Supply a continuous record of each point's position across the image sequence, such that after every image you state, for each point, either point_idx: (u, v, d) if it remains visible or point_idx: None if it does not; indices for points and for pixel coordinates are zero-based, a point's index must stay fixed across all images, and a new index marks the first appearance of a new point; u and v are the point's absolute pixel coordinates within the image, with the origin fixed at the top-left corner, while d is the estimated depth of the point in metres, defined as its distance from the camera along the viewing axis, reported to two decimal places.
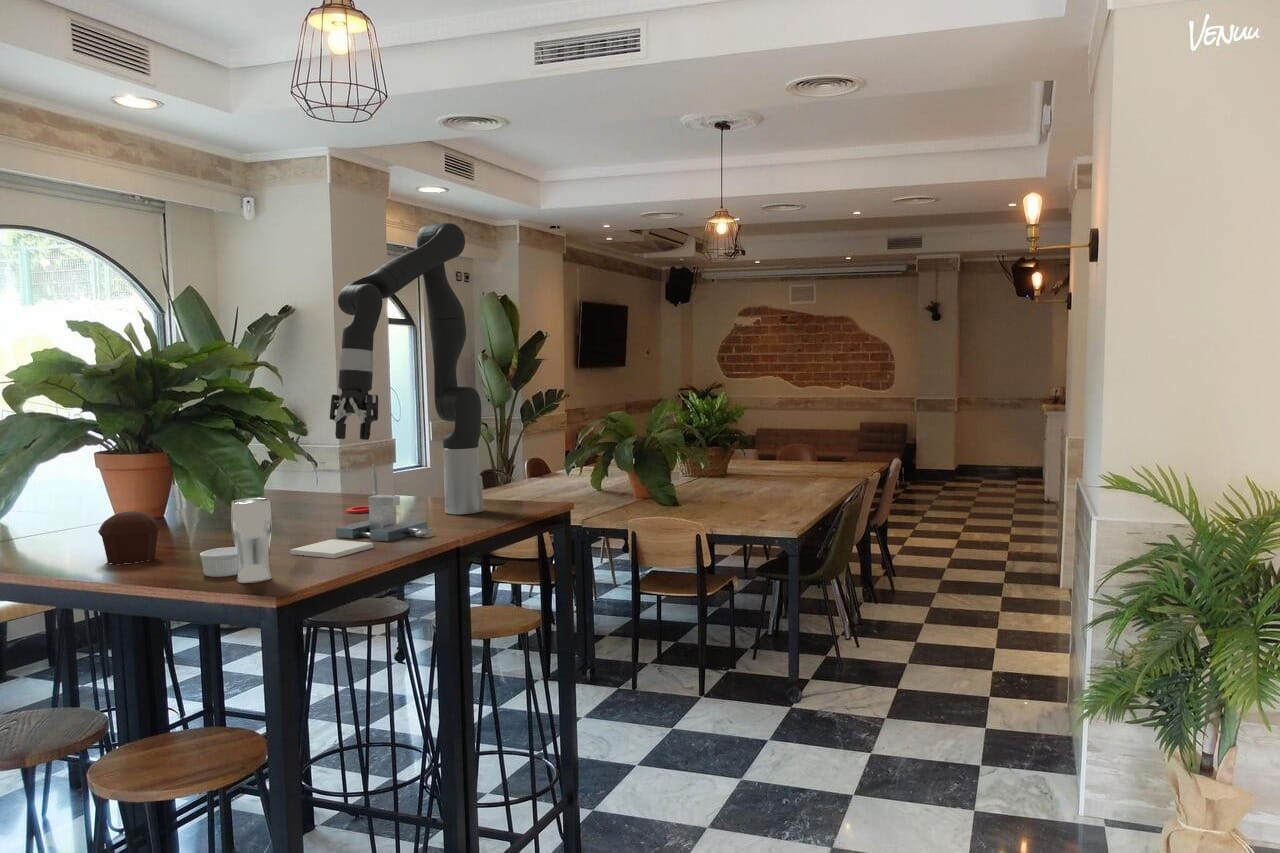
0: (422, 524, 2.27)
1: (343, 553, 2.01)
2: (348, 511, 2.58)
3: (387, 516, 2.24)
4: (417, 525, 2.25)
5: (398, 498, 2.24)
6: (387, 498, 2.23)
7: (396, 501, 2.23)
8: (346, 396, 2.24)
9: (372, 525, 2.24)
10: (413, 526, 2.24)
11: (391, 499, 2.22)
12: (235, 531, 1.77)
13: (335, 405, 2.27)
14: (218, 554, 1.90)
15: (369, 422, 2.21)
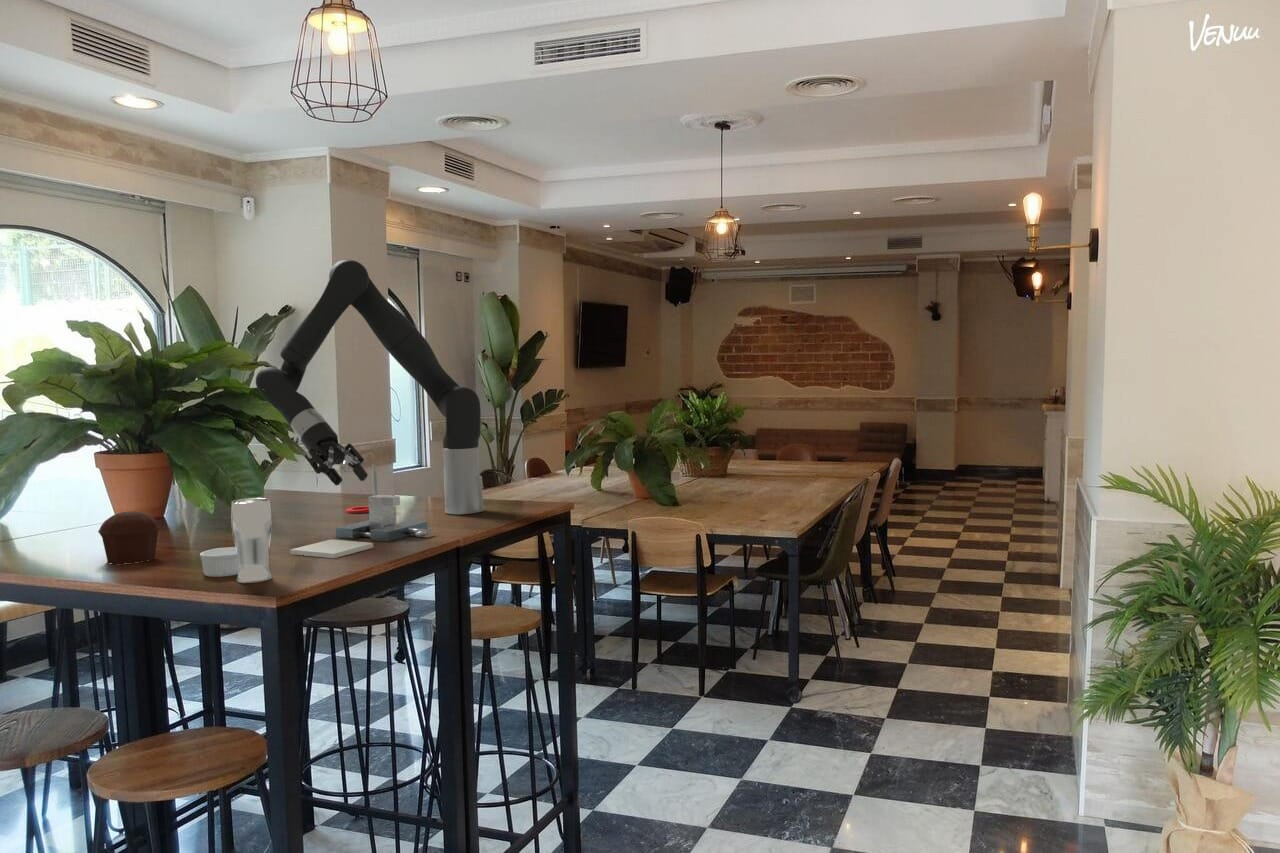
0: (422, 524, 2.27)
1: (343, 553, 2.01)
2: (348, 511, 2.58)
3: (387, 516, 2.24)
4: (417, 525, 2.25)
5: (398, 498, 2.24)
6: (387, 498, 2.23)
7: (396, 501, 2.23)
8: None
9: (372, 525, 2.24)
10: (413, 526, 2.24)
11: (391, 499, 2.22)
12: (235, 531, 1.77)
13: None
14: (218, 554, 1.90)
15: (325, 471, 2.24)
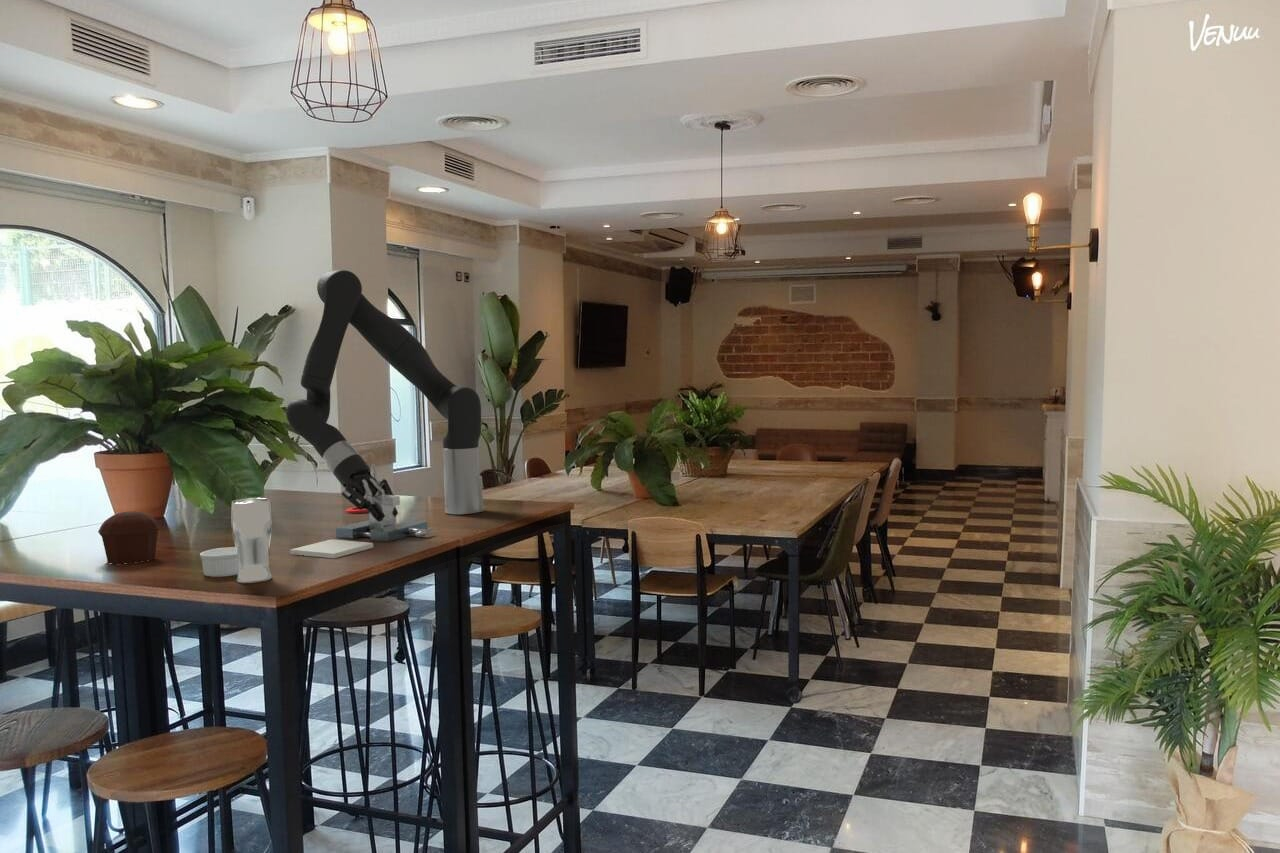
0: (422, 524, 2.27)
1: (343, 553, 2.01)
2: (348, 511, 2.58)
3: (387, 516, 2.24)
4: (417, 525, 2.25)
5: (398, 498, 2.24)
6: (387, 498, 2.23)
7: (396, 501, 2.23)
8: None
9: (372, 525, 2.24)
10: (413, 526, 2.24)
11: (391, 499, 2.22)
12: (235, 531, 1.77)
13: None
14: (218, 554, 1.90)
15: (368, 507, 2.22)
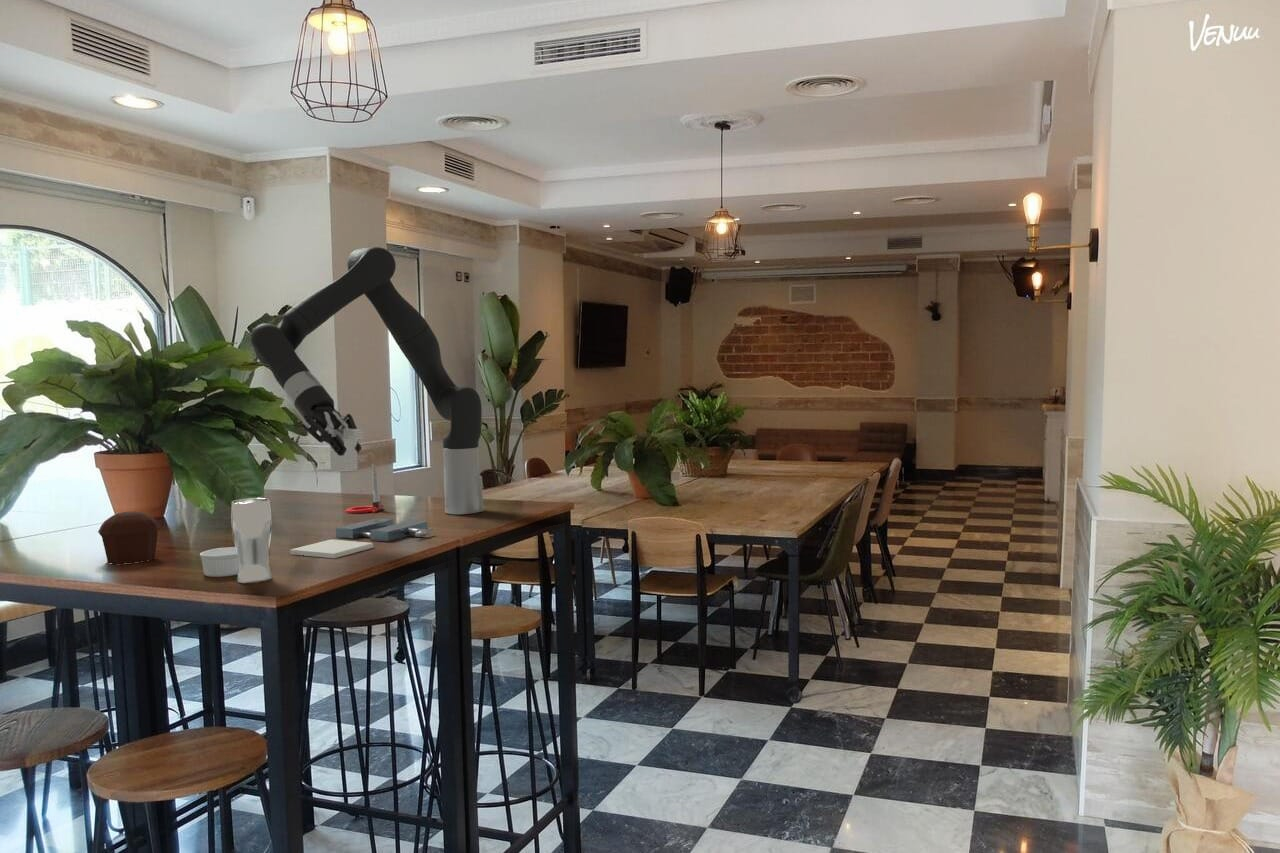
0: (422, 524, 2.27)
1: (343, 553, 2.01)
2: (348, 511, 2.58)
3: (349, 450, 2.11)
4: (417, 525, 2.25)
5: (361, 431, 2.10)
6: (349, 431, 2.09)
7: (359, 434, 2.10)
8: None
9: (333, 460, 2.11)
10: (413, 526, 2.24)
11: (353, 432, 2.09)
12: (235, 531, 1.77)
13: None
14: (218, 554, 1.90)
15: (328, 440, 2.09)
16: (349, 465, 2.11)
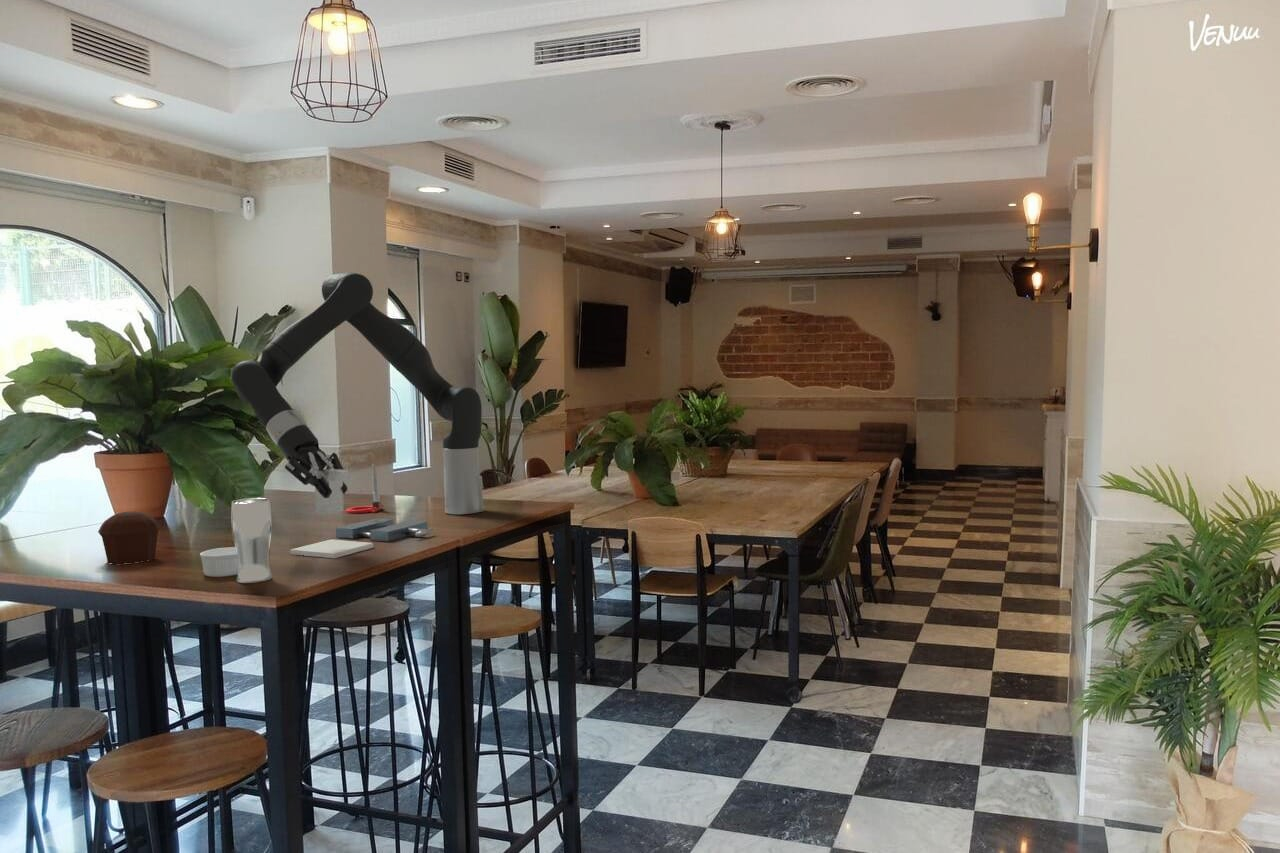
0: (422, 524, 2.27)
1: (343, 553, 2.01)
2: (348, 511, 2.58)
3: (335, 492, 2.05)
4: (417, 525, 2.25)
5: (347, 472, 2.04)
6: (335, 472, 2.03)
7: (344, 476, 2.04)
8: None
9: (319, 502, 2.05)
10: (413, 526, 2.24)
11: (339, 473, 2.03)
12: (235, 531, 1.77)
13: None
14: (218, 554, 1.90)
15: (313, 482, 2.03)
16: (335, 507, 2.05)
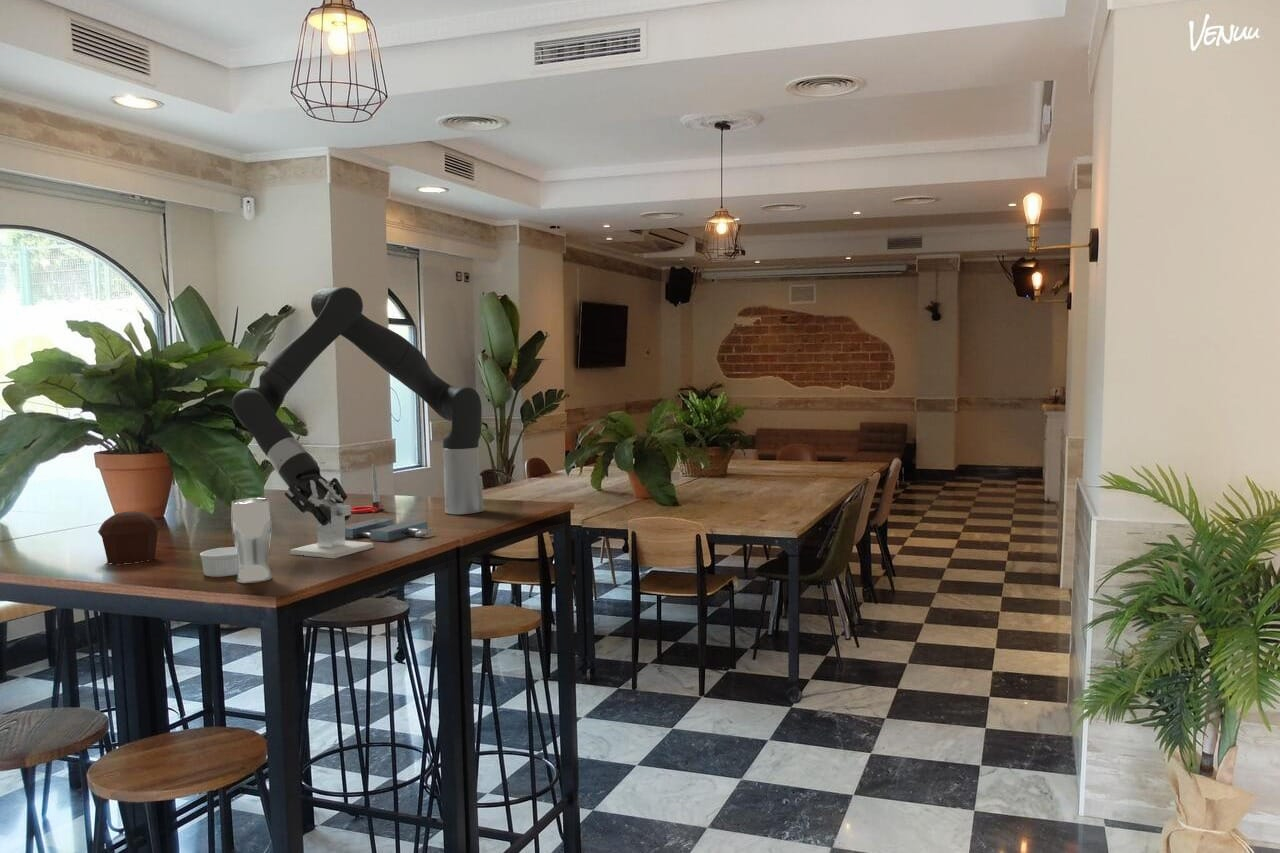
0: (422, 524, 2.27)
1: (343, 553, 2.01)
2: None
3: (336, 526, 2.05)
4: (417, 525, 2.25)
5: (349, 507, 2.05)
6: (337, 507, 2.04)
7: (346, 511, 2.04)
8: None
9: (320, 536, 2.05)
10: (413, 526, 2.24)
11: (341, 508, 2.03)
12: (235, 531, 1.77)
13: None
14: (218, 554, 1.90)
15: (311, 509, 2.02)
16: (337, 541, 2.05)
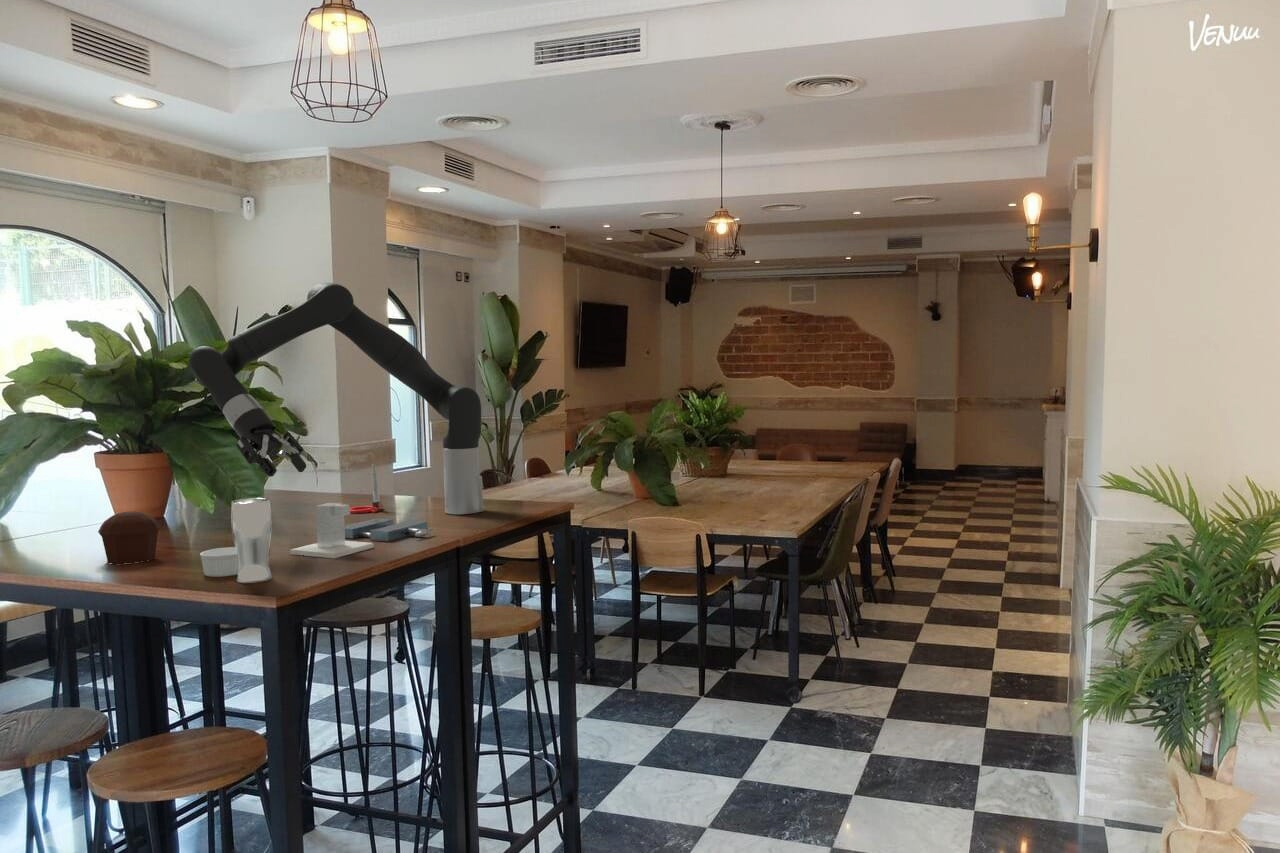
0: (422, 524, 2.27)
1: (343, 553, 2.01)
2: None
3: (336, 526, 2.05)
4: (417, 525, 2.25)
5: (348, 507, 2.05)
6: (336, 507, 2.04)
7: (345, 510, 2.04)
8: None
9: (320, 537, 2.05)
10: (413, 526, 2.24)
11: (340, 508, 2.03)
12: (235, 531, 1.77)
13: None
14: (218, 554, 1.90)
15: (258, 461, 2.06)
16: (336, 541, 2.05)
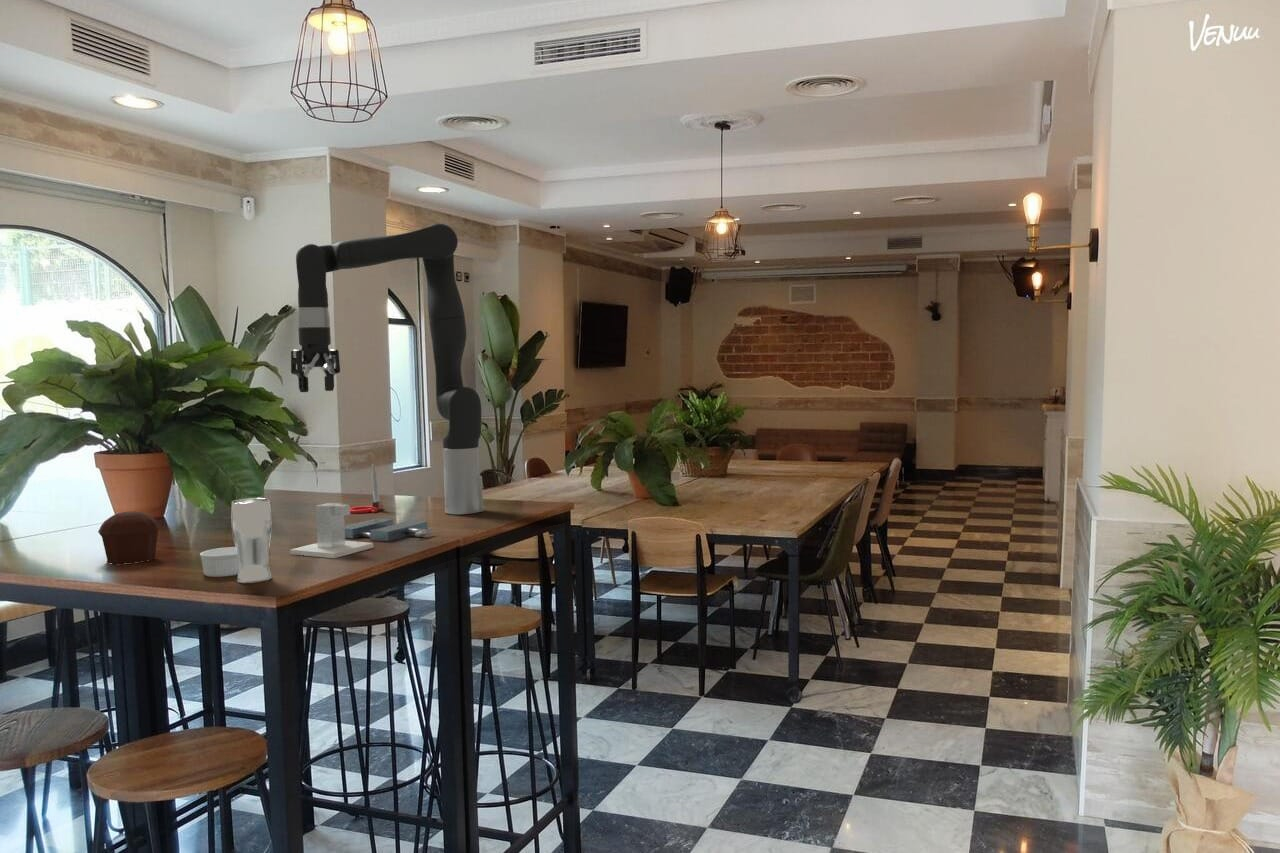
0: (422, 524, 2.27)
1: (343, 553, 2.01)
2: None
3: (336, 526, 2.05)
4: (417, 525, 2.25)
5: (348, 507, 2.05)
6: (336, 507, 2.04)
7: (345, 510, 2.04)
8: None
9: (320, 537, 2.05)
10: (413, 526, 2.24)
11: (340, 508, 2.03)
12: (235, 531, 1.77)
13: (329, 359, 2.46)
14: (218, 554, 1.90)
15: (299, 376, 2.35)
16: (336, 541, 2.05)
